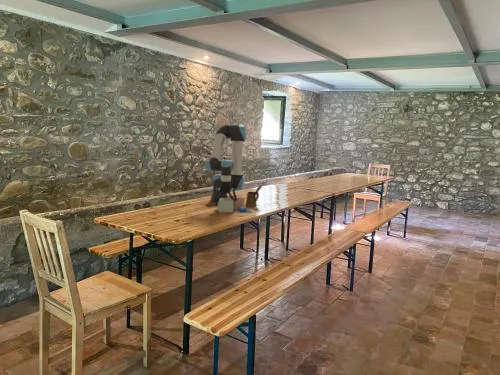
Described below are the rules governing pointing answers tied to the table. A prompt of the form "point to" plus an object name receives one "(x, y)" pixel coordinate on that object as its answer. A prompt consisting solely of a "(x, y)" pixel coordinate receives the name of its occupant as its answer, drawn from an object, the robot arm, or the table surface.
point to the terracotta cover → (238, 202)
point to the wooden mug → (252, 197)
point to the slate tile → (243, 211)
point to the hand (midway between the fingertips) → (225, 210)
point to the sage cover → (225, 205)
